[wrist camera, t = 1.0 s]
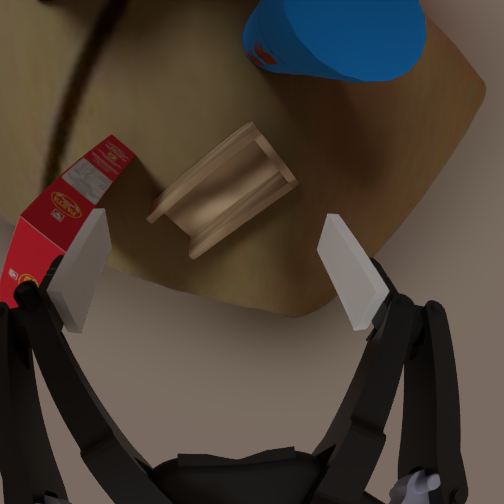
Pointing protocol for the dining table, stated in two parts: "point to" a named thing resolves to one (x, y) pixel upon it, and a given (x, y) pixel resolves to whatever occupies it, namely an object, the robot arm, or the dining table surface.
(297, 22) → the thermos
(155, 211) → the u rest
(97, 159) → the food packaging
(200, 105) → the dining table surface
